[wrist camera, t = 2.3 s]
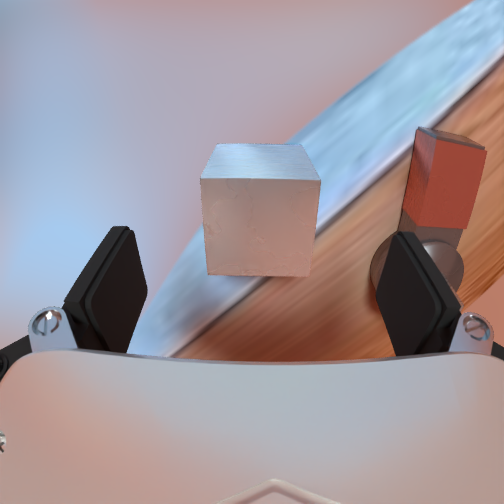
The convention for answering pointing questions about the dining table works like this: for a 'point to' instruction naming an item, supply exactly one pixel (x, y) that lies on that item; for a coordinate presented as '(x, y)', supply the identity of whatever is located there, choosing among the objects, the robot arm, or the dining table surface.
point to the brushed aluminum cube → (259, 210)
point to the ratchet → (438, 200)
